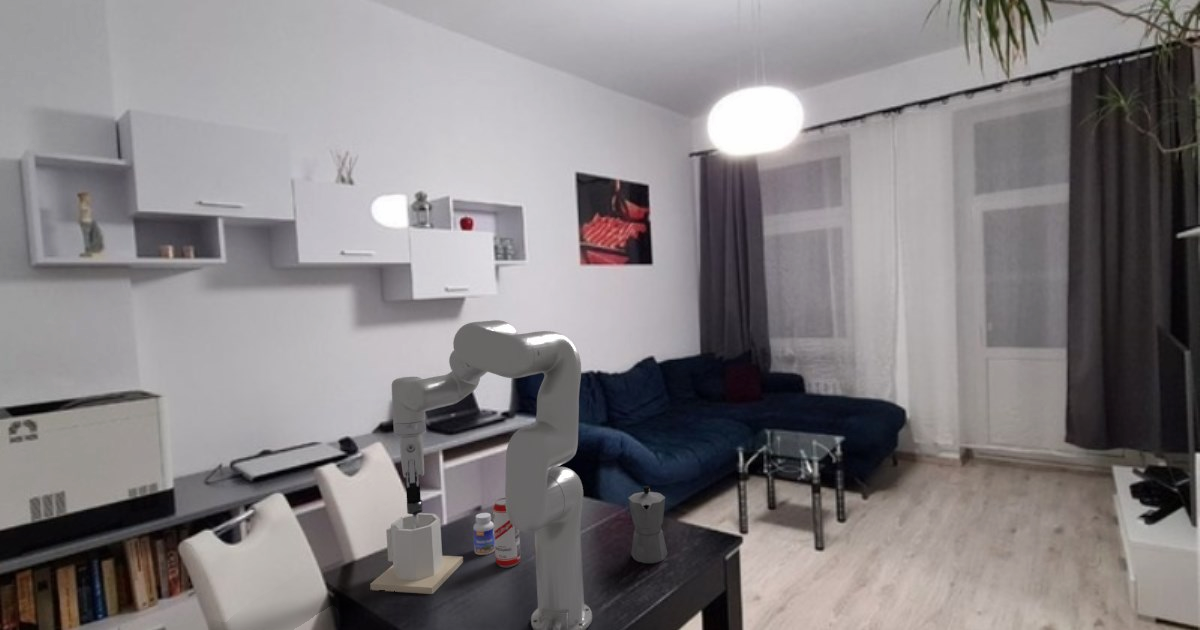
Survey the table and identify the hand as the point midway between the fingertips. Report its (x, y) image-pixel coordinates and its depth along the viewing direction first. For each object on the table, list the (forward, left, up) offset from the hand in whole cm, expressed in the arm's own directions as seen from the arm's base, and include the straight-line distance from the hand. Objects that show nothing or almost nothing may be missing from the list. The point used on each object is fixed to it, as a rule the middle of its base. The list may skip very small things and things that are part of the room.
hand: (413, 501), depth 143 cm
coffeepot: (+18, -55, -19) cm, 61 cm away
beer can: (+9, -20, -19) cm, 29 cm away
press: (0, 0, -19) cm, 19 cm away
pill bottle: (+15, -11, -19) cm, 26 cm away
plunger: (0, 0, -14) cm, 14 cm away
